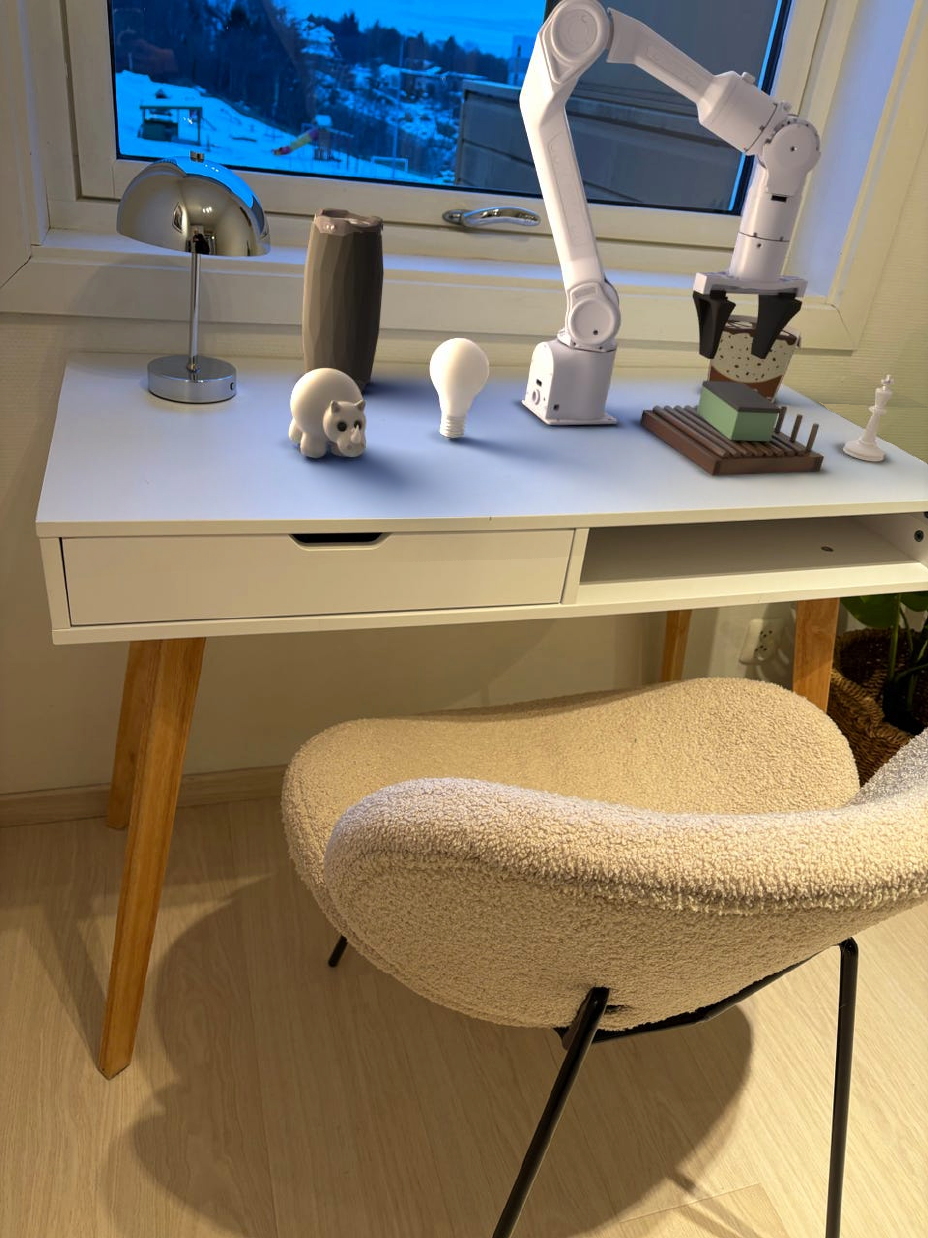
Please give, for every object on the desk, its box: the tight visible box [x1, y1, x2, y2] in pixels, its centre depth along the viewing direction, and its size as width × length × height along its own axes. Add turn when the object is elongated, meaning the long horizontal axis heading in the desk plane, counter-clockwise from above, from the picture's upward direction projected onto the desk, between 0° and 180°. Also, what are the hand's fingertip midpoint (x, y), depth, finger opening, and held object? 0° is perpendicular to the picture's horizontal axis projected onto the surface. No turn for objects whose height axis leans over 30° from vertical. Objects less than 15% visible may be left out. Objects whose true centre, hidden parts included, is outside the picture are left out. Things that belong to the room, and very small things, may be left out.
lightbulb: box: [429, 337, 490, 440], centre depth 109 cm, size 6×6×11 cm
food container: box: [706, 314, 802, 404], centre depth 140 cm, size 12×6×10 cm, turn 84°
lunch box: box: [697, 380, 781, 441], centre depth 119 cm, size 5×9×4 cm, turn 14°
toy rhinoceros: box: [288, 368, 367, 459], centre depth 100 cm, size 7×12×8 cm, turn 25°
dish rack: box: [639, 389, 825, 476], centre depth 120 cm, size 15×16×5 cm
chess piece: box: [842, 374, 895, 462], centre depth 123 cm, size 5×5×10 cm
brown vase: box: [301, 207, 385, 393], centre depth 118 cm, size 9×9×20 cm
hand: (732, 356), depth 119 cm, fingers open, 7 cm apart
